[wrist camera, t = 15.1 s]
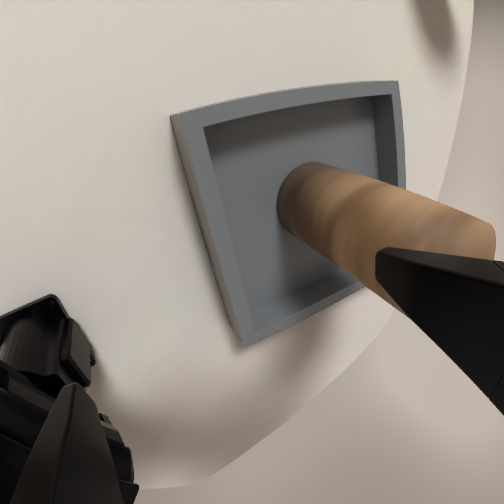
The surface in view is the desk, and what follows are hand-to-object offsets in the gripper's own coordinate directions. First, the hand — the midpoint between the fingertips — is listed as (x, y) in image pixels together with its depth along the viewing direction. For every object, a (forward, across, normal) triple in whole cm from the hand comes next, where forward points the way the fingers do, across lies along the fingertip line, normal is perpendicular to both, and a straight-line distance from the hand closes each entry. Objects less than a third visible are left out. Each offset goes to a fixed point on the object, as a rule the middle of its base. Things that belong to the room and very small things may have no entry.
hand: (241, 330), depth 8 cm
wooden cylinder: (+12, -10, +3) cm, 16 cm away
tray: (+13, -10, +3) cm, 17 cm away
